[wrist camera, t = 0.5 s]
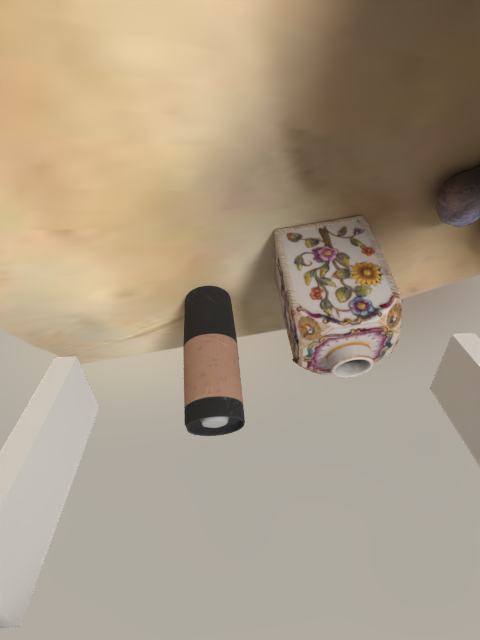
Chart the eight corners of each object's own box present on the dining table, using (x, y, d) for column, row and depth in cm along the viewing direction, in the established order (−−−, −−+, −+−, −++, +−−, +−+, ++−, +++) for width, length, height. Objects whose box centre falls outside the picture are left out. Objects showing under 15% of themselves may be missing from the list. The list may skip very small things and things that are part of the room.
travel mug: (242, 298, 55) (258, 422, 43) (210, 320, 59) (217, 439, 48) (205, 277, 50) (212, 411, 39) (173, 302, 54) (171, 430, 43)
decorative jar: (352, 274, 53) (393, 383, 43) (276, 286, 53) (298, 396, 43) (366, 210, 43) (424, 332, 33) (272, 225, 43) (300, 350, 33)
